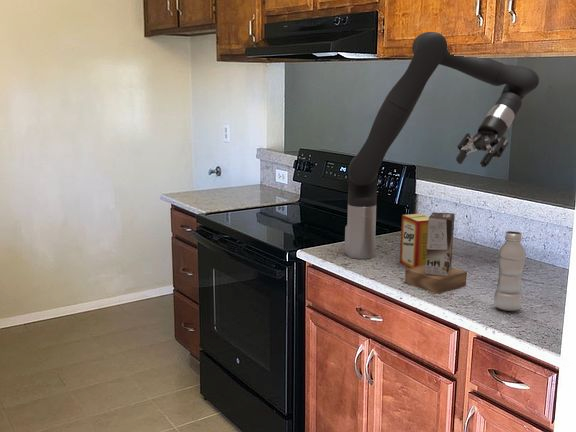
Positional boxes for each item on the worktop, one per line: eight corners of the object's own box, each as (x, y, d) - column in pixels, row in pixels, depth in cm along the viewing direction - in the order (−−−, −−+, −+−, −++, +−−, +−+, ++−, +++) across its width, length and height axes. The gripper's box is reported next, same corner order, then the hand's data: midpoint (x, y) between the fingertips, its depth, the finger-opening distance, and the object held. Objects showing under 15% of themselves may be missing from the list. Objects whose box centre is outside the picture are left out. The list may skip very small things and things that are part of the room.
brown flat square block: (405, 282, 177) (405, 269, 176) (432, 274, 184) (433, 262, 183) (438, 293, 168) (438, 279, 167) (465, 285, 175) (466, 271, 174)
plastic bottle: (498, 302, 161) (504, 228, 157) (524, 309, 157) (531, 232, 153) (489, 309, 156) (495, 233, 152) (515, 316, 152) (522, 237, 148)
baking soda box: (434, 269, 190) (436, 218, 186) (415, 271, 188) (417, 220, 184) (417, 261, 198) (420, 212, 195) (399, 262, 196) (401, 213, 193)
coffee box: (448, 277, 169) (451, 219, 166) (424, 274, 172) (427, 217, 168) (452, 267, 178) (455, 212, 174) (429, 265, 180) (432, 211, 176)
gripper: (472, 113, 190) (445, 153, 186) (513, 115, 179) (485, 157, 175) (481, 130, 194) (455, 169, 190) (522, 133, 183) (495, 174, 179)
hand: (470, 163), depth 182 cm, fingers open, 8 cm apart
